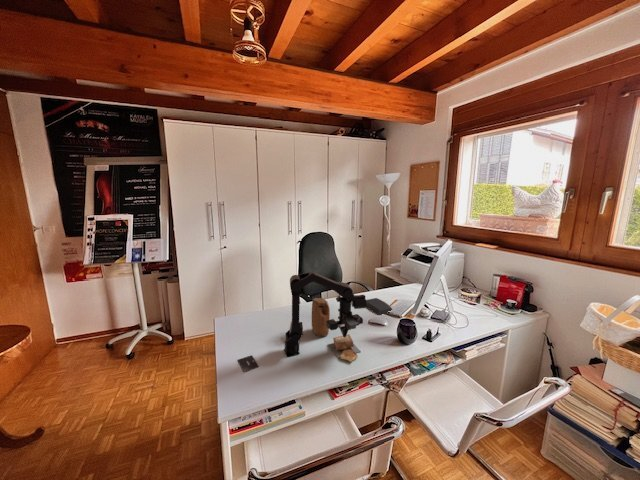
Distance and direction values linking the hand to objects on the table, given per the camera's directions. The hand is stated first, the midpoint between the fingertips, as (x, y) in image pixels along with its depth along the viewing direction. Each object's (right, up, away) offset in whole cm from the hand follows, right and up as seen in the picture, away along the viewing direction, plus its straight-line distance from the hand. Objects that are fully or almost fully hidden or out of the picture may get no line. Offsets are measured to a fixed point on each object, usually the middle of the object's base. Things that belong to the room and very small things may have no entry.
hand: (344, 337), depth 135 cm
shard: (+1, -7, -5) cm, 9 cm away
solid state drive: (-46, -9, -11) cm, 49 cm away
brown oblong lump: (-12, -4, +16) cm, 20 cm away
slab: (-5, -4, +1) cm, 6 cm away
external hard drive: (+28, +2, +49) cm, 57 cm away
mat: (0, -6, +1) cm, 6 cm away
